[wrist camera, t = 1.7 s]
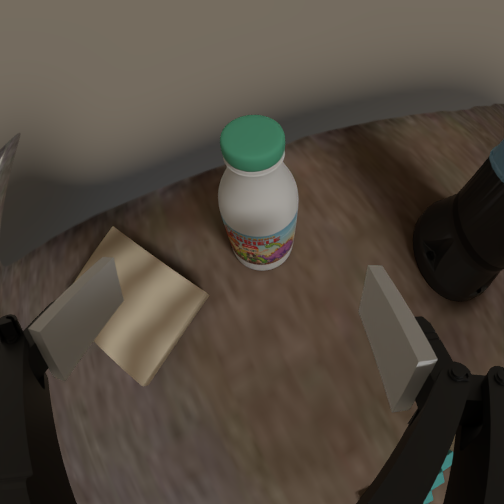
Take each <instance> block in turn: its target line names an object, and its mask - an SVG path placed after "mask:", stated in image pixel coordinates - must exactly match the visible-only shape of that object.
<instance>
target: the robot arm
mask: <svg viewBox="0 0 504 504" xmlns="http://www.w3.org/2000/svg"><path fill="white" fill-rule="evenodd" d="M413 246H414V253H415V258H416V261H417V264H418V266H419V269H420V271H421V273H422V275H423V276H424V278H425V280H426V281H427V282H428V284H429V285H430V286H431V287H432V288H433V289H434V290H435V291H436V292H437V293H438V294H440V295H441V296H443V297H445V298H447V299H449V300H453V301H466V300H469V299H471V298H474V297H476V296H478V295H480V294H481V293H482V292H484V291H485V290H486V289H487V288H488V286H489V285H490V284H491V283H492V281H493V280H494V279H495V278H496V276H497V275H498V274H499V273H500V271H501V270H503V269H504V139H503V141H502V142H501V143H500V144H499V145H498V146H496V147H494V148H493V149H492V151H491V152H490V156H489V157H488V159H487V160H486V161H485V162H484V164H483V165H482V166H481V167H480V168H479V170H478V171H477V172H476V173H475V174H474V176H473V177H472V178H471V179H470V180H469V181H468V182H467V183H466V185H465V186H464V187H463V188H462V189H461V190H460V191H459V193H458V194H455V195H453V196H450V197H448V198H445V199H443V200H440V201H437V202H435V203H433V204H432V205H431V206H429V207H428V208H427V209H426V211H425V212H424V213H423V214H422V215H421V216H420V218H419V219H418V221H417V223H416V226H415V230H414V236H413ZM123 301H124V299H123V295H122V291H121V287H120V283H119V279H118V275H117V270H116V266H115V261H114V257H102V258H101V259H100V260H98V261H97V262H96V263H95V264H94V265H93V266H92V267H91V268H90V269H88V270H87V271H86V272H85V273H84V274H83V275H82V276H81V277H80V278H79V279H78V280H76V281H75V282H74V283H73V284H72V285H71V286H70V287H69V288H68V289H67V290H66V291H65V292H64V293H63V294H62V295H61V296H60V297H59V298H58V299H57V300H55V301H54V302H52V303H50V304H49V305H48V306H47V307H46V308H45V309H44V311H42V312H41V313H40V314H39V316H37V317H36V318H35V319H34V320H33V322H32V323H31V324H30V325H29V326H28V327H27V328H26V329H25V330H24V331H23V330H22V328H21V326H20V324H19V322H18V319H17V317H16V316H15V315H11V314H10V315H6V316H3V317H1V318H0V504H77V503H76V501H75V498H74V495H73V492H72V489H71V486H70V483H69V480H68V477H67V473H66V470H65V467H64V463H63V459H62V455H61V451H60V447H59V443H58V439H57V434H56V429H55V424H54V418H53V413H52V406H51V400H50V392H49V384H48V377H47V375H46V373H45V372H46V370H47V369H48V368H49V370H50V372H51V373H52V375H53V377H55V378H57V379H60V380H63V381H66V380H67V379H68V377H69V376H70V374H71V373H72V371H73V370H74V368H75V367H76V365H77V364H78V362H79V361H80V360H81V358H82V357H83V355H84V354H85V352H86V351H87V350H88V348H89V347H90V345H91V344H92V343H93V341H94V340H95V338H96V337H97V336H98V334H99V333H100V331H101V330H102V329H103V327H104V326H105V325H106V323H107V322H108V321H109V319H110V318H111V317H112V315H113V314H114V313H115V311H116V310H117V309H118V307H119V306H120V305H121V303H122V302H123ZM358 312H359V314H360V317H361V320H362V322H363V325H364V328H365V331H366V333H367V336H368V339H369V342H370V345H371V348H372V351H373V353H374V356H375V359H376V362H377V365H378V368H379V372H380V375H381V378H382V381H383V384H384V387H385V391H386V394H387V397H388V401H389V404H390V408H391V411H392V412H398V411H404V410H409V409H410V408H411V406H412V405H413V403H414V401H416V403H417V406H418V409H417V410H416V412H415V413H414V415H413V416H412V418H411V419H410V421H409V422H408V424H409V425H408V427H407V429H406V430H405V432H404V434H403V436H402V438H401V439H400V441H399V443H398V444H397V446H396V448H395V449H394V451H393V453H392V454H391V456H390V457H389V459H388V460H387V462H386V463H385V465H384V466H383V468H382V469H381V471H380V472H379V474H378V475H377V477H376V478H375V480H374V481H373V482H372V484H371V485H370V486H369V488H368V489H367V490H366V492H365V493H364V494H363V496H362V497H361V498H360V500H359V501H358V502H357V503H356V504H423V503H424V501H425V499H426V497H427V495H428V494H429V492H430V490H431V488H432V486H433V484H434V482H435V480H436V478H437V476H438V474H439V472H440V470H441V467H442V465H443V463H444V461H445V458H446V456H447V454H448V451H449V449H450V446H451V444H452V441H453V439H454V436H455V433H456V436H455V444H454V452H453V459H452V465H451V471H450V476H449V481H448V486H447V490H446V494H445V499H444V503H443V504H504V368H503V367H500V366H494V367H492V368H491V369H490V370H489V371H488V373H487V375H486V376H482V375H472V374H471V373H470V371H469V369H468V368H467V367H466V366H464V365H463V364H461V363H458V362H453V361H452V359H451V357H450V355H449V354H448V352H447V350H446V348H445V347H444V345H443V343H442V342H441V340H439V337H438V335H437V333H435V330H434V328H433V327H432V325H431V323H429V322H428V321H427V320H426V319H425V318H423V317H414V316H413V314H412V312H411V311H410V309H409V307H408V306H407V304H406V302H405V301H404V299H403V297H402V296H401V294H400V293H399V291H398V290H397V288H396V286H395V285H394V283H393V282H392V280H391V279H390V277H389V276H388V274H387V272H386V271H385V269H384V268H383V266H377V265H368V268H367V273H366V278H365V283H364V288H363V293H362V298H361V302H360V307H359V311H358Z"/></svg>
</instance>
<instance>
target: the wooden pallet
mask: <svg viewBox="0 0 504 504" xmlns="http://www.w3.org/2000/svg"><path fill="white" fill-rule="evenodd" d="M102 257H114V261H115V266H116V270H117V275H118V279H119V283H120V287H121V291H122V295H123V299H124V301H123V302H122V303H121V305H120V306H119V307H118V309H117V310H116V311H115V313H114V314H113V315H112V317H111V318H110V319H109V321H108V322H107V323H106V325H105V326H104V327H103V329H102V330H101V331H100V333H99V334H98V336H97V337H96V338H95V340H94V342H95V343H96V344H97V345H98V346H99V347H100V348H101V349H102V350H103V351H104V352H105V353H106V354H107V355H108V356H109V357H110V358H112V359H113V360H114V361H115V362H116V363H117V364H118V365H119V366H120V367H121V368H122V369H123V370H124V371H126V372H127V373H128V374H129V375H130V376H131V377H132V378H133V379H135V380H136V381H137V382H138V383H139V384H140V385H142V386H148V385H149V383H150V382H151V380H152V379H153V377H154V376H155V374H156V373H157V371H158V370H159V369H160V367H161V366H162V364H163V363H164V361H165V360H166V358H167V357H168V355H169V354H170V352H171V351H172V349H173V348H174V346H175V345H176V343H177V342H178V340H179V339H180V337H181V336H182V335H183V333H184V332H185V330H186V329H187V327H188V326H189V324H190V323H191V321H192V320H193V318H194V317H195V315H196V314H197V312H198V311H199V310H200V308H201V307H202V305H203V304H204V302H205V301H206V299H207V298H208V296H209V295H208V294H207V293H206V292H205V291H203V290H202V289H200V288H199V287H197V286H196V285H194V284H193V283H191V282H190V281H188V280H187V279H185V278H184V277H182V276H181V275H180V274H178V273H177V272H175V271H174V270H172V269H171V268H170V267H168V266H167V265H165V264H164V263H163V262H161V261H160V260H158V259H157V258H155V257H154V256H153V255H151V254H150V253H149V252H147V251H146V250H144V249H143V248H142V247H140V246H139V245H138V244H136V243H135V242H134V241H132V240H131V239H130V238H128V237H127V236H125V235H124V234H123V233H121V232H120V231H119V230H118V229H116V228H115V227H114V226H112V228H111V229H110V231H109V232H108V233H107V235H106V236H105V237H104V239H103V240H102V241H101V243H100V244H99V246H98V247H97V249H96V250H95V251H94V253H93V254H92V256H91V257H90V259H89V260H88V262H87V263H86V265H85V266H84V268H83V269H82V271H81V272H80V274H79V275H78V277H77V278H76V280H78V279H79V278H80V277H81V276H82V275H83V274H84V273H85V272H86V271H87V270H88V269H90V268H91V267H92V266H93V265H94V264H95V263H96V262H97V261H98V260H100V259H101V258H102ZM76 280H75V281H76ZM75 281H74V282H75Z"/></svg>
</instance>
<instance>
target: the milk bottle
mask: <svg viewBox="0 0 504 504" xmlns="http://www.w3.org/2000/svg"><path fill="white" fill-rule="evenodd" d="M220 146H221V151H222V154H223V159H224V162H225V164H226V166H227V168H226V170H225V172H224V174H223V176H222V178H221V181H220V185H219V190H218V202H219V209H220V213H221V216H222V220H223V223H224V226H225V229H226V232H227V235H228V237H229V240H230V243H231V246H232V249H233V251H234V253H235V255H236V257H237V258H238V260H239V261H240V262H241V263H242V264H244V265H245V266H247V267H249V268H251V269H254V270H270V269H273V268H276V267H278V266H279V265H281V264H282V263H283V262H284V261H285V260H286V259H287V258H288V256H289V254H290V252H291V249H292V245H293V240H294V234H295V227H296V220H297V212H298V190H297V186H296V182H295V180H294V177H293V175H292V174H291V172H290V170H289V169H288V168H287V167H286V165H285V164H284V163H283V159H284V155H285V151H284V150H285V135H284V132H283V129H282V128H281V126H280V125H279V124H278V123H277V122H276V121H274V120H273V119H271V118H269V117H265V116H261V115H247V116H242V117H239V118H237V119H235V120H233V121H231V122H230V123H229V124H227V125H226V126H225V128H224V129H223V131H222V133H221V137H220Z"/></svg>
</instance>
